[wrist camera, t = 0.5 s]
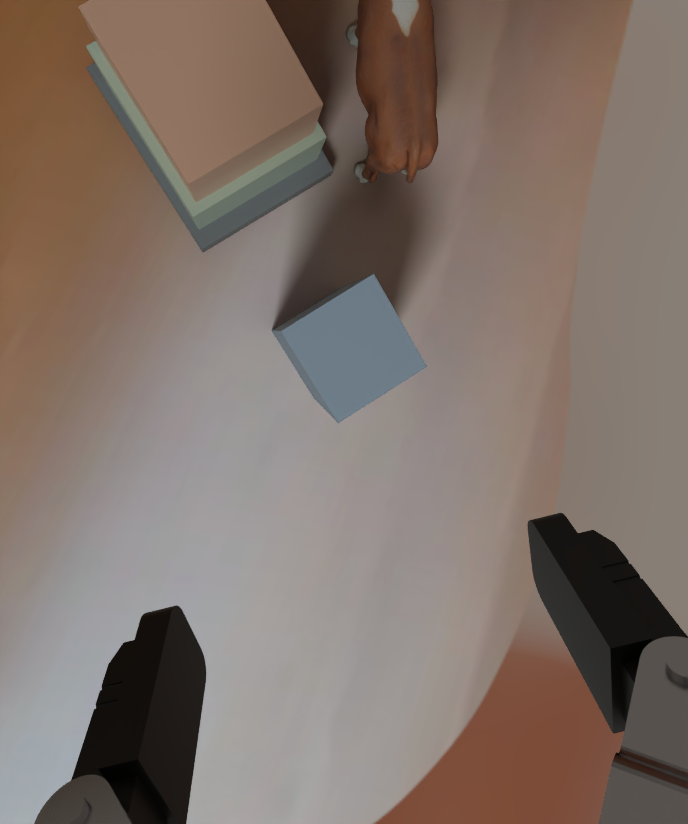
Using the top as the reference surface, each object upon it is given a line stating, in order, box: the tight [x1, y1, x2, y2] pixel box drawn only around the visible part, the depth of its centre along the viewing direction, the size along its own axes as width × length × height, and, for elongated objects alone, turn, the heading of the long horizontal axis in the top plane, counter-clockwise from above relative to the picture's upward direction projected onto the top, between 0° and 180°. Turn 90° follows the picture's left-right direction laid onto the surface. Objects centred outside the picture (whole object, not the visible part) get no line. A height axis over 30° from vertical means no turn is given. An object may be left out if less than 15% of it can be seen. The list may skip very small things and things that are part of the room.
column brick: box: [272, 274, 427, 423], centre depth 32 cm, size 5×5×10 cm
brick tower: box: [78, 0, 333, 252], centre depth 30 cm, size 11×9×9 cm
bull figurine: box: [346, 0, 438, 183], centre depth 32 cm, size 4×13×8 cm, turn 179°
